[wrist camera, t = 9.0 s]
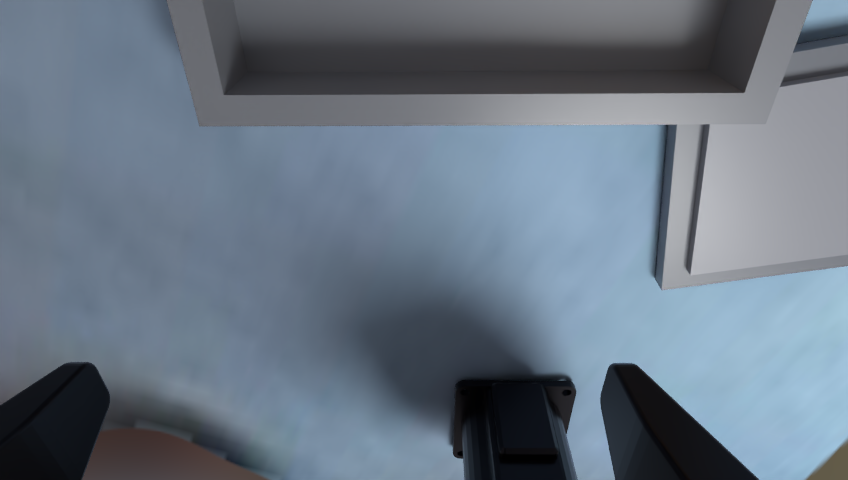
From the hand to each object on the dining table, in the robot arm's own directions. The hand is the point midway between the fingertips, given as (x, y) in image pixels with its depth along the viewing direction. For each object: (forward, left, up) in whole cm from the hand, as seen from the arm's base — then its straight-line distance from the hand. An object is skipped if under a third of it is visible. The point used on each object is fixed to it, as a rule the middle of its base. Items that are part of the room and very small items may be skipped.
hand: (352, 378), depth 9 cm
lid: (-2, -17, -13) cm, 21 cm away
